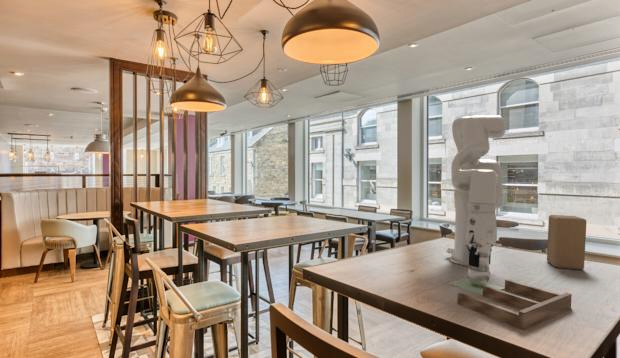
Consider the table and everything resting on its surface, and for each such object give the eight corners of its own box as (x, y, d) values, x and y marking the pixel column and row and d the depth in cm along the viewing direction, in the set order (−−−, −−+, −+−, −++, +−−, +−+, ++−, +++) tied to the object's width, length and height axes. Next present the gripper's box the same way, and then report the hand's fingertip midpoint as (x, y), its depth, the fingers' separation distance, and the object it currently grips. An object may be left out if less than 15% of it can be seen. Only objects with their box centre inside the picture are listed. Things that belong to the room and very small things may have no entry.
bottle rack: (457, 303, 94) (457, 289, 93) (506, 288, 107) (507, 276, 107) (523, 329, 79) (524, 312, 79) (570, 308, 93) (571, 293, 92)
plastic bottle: (463, 281, 111) (465, 220, 110) (482, 280, 112) (485, 220, 111) (474, 288, 105) (476, 224, 104) (494, 287, 105) (497, 224, 104)
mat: (448, 283, 110) (448, 282, 110) (470, 278, 117) (470, 277, 117) (483, 295, 100) (483, 294, 100) (505, 289, 107) (505, 288, 107)
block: (574, 264, 139) (576, 215, 138) (585, 271, 130) (587, 219, 129) (545, 261, 142) (548, 214, 142) (554, 267, 133) (556, 217, 132)
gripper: (477, 211, 100) (474, 272, 100) (508, 208, 109) (505, 264, 109) (454, 208, 106) (452, 265, 107) (485, 206, 115) (483, 258, 116)
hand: (479, 264), depth 108 cm, fingers closed on plastic bottle, 5 cm apart
